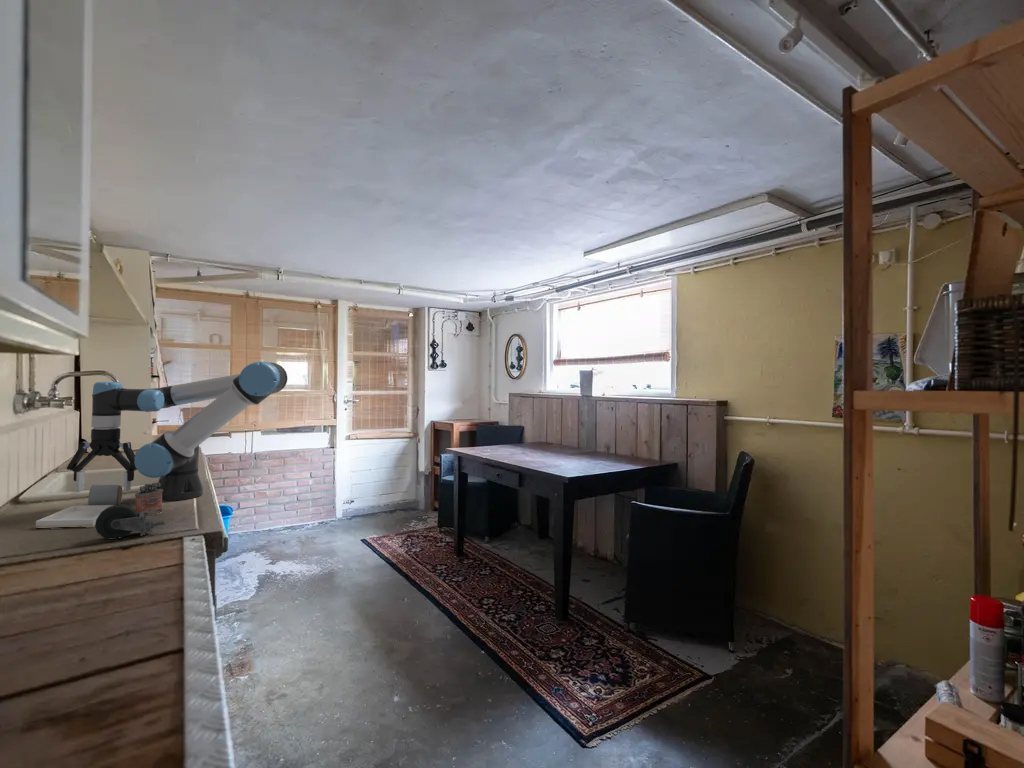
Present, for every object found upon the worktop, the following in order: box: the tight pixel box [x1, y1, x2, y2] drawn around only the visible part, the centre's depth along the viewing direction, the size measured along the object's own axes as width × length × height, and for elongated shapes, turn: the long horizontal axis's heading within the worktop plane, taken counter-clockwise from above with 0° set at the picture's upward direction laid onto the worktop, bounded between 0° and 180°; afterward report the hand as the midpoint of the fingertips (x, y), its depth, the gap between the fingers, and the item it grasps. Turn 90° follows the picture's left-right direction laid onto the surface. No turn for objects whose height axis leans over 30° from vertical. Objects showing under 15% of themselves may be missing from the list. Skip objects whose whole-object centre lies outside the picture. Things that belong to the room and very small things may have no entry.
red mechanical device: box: [134, 481, 163, 517], centre depth 155 cm, size 8×3×10 cm, turn 162°
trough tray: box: [35, 504, 113, 528], centre depth 147 cm, size 14×16×2 cm
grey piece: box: [87, 484, 123, 505], centre depth 162 cm, size 11×8×8 cm
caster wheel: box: [94, 504, 165, 539], centre depth 135 cm, size 6×10×15 cm
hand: (103, 490), depth 161 cm, fingers open, 13 cm apart
